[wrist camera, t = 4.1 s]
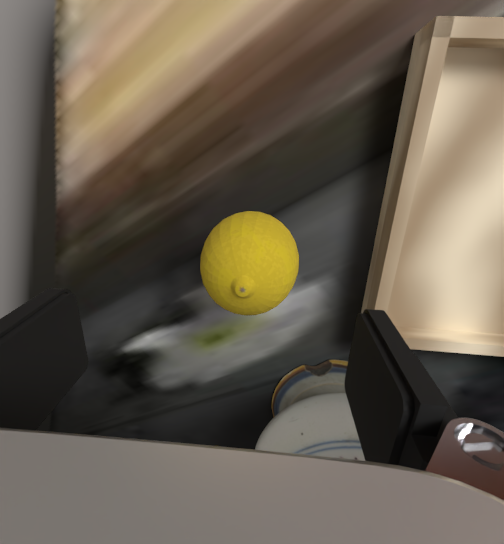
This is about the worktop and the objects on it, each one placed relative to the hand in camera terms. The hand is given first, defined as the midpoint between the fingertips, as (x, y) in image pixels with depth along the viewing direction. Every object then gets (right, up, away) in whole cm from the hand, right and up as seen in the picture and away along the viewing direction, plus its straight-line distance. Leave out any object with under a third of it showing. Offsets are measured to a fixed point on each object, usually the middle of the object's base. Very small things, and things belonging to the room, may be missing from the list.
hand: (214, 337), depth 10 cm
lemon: (+1, +4, +11) cm, 12 cm away
